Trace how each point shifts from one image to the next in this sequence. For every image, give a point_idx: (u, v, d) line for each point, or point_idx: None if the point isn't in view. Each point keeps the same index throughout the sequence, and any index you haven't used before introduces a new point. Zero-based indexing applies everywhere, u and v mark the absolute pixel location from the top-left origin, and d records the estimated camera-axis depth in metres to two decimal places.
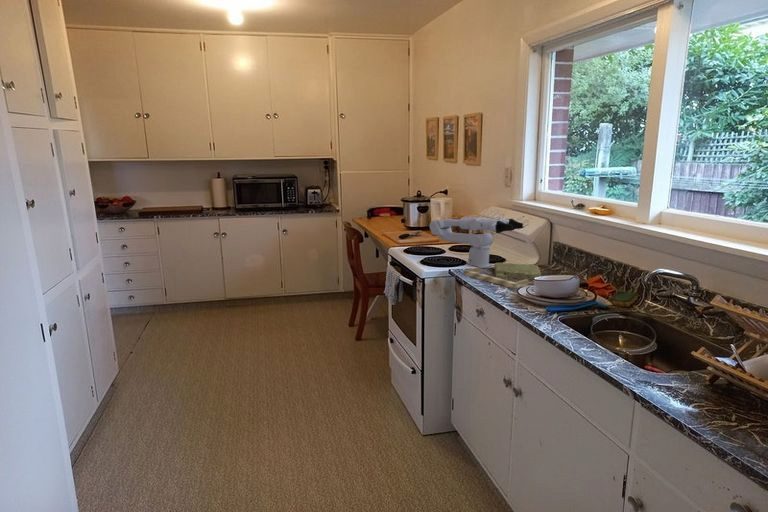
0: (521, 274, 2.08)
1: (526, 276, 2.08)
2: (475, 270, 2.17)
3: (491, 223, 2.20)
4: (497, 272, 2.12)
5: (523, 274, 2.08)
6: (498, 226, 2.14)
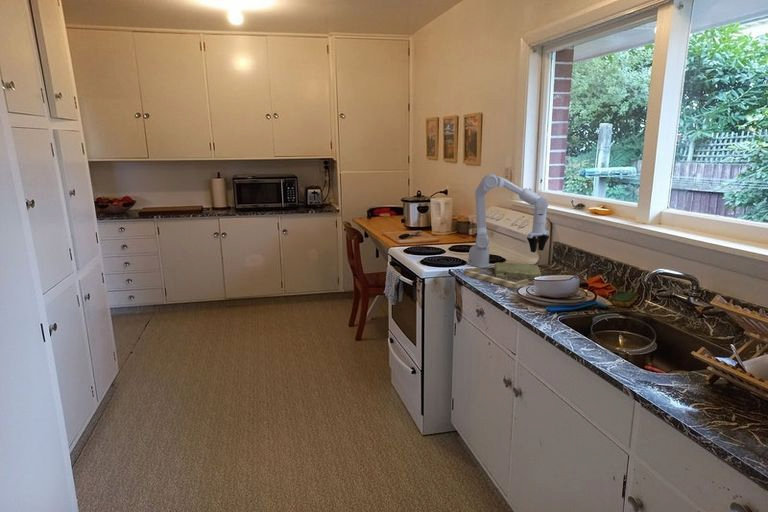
0: (521, 274, 2.08)
1: (526, 276, 2.08)
2: (475, 270, 2.17)
3: (537, 226, 2.19)
4: (497, 272, 2.12)
5: (523, 274, 2.08)
6: (533, 239, 2.20)
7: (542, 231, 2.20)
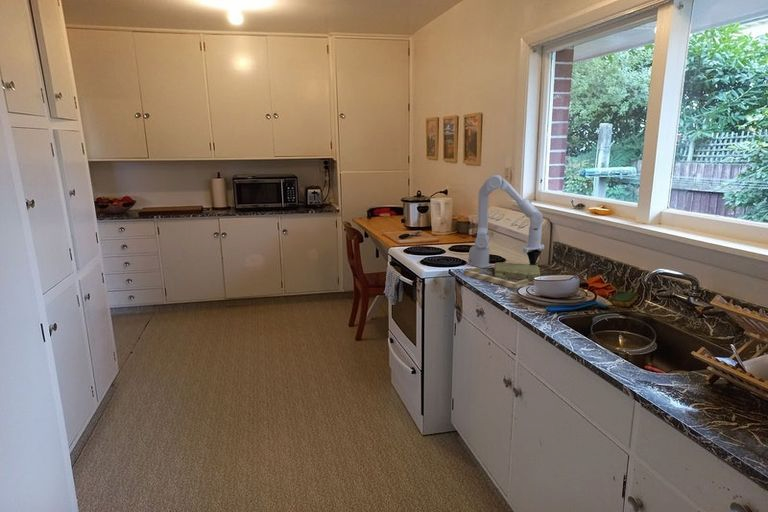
0: (520, 274, 2.07)
1: (525, 276, 2.07)
2: (475, 270, 2.17)
3: (533, 240, 2.19)
4: (496, 272, 2.11)
5: (522, 274, 2.07)
6: None
7: (537, 245, 2.19)
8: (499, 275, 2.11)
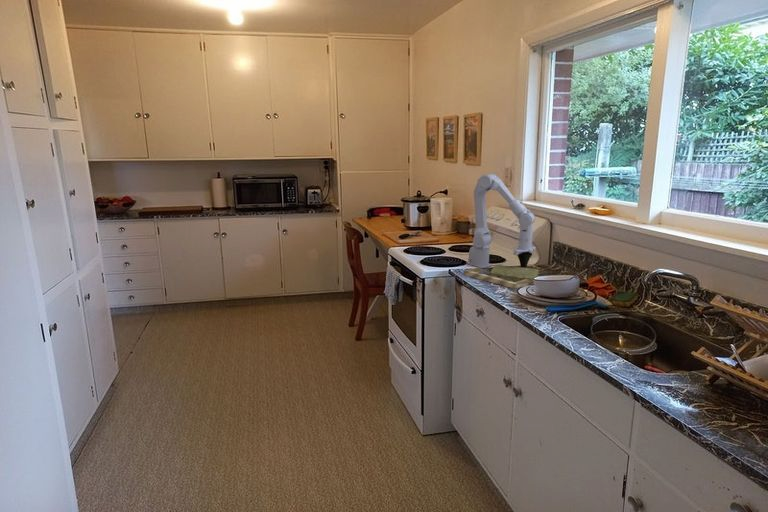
0: (514, 277, 2.03)
1: (519, 280, 2.02)
2: (475, 270, 2.17)
3: (524, 242, 2.15)
4: (490, 274, 2.08)
5: (516, 277, 2.02)
6: None
7: (528, 248, 2.15)
8: None
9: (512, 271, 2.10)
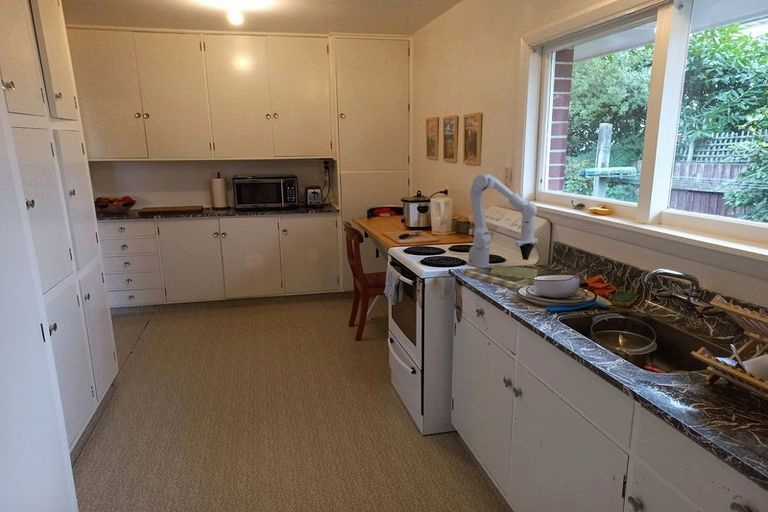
0: (514, 278, 2.03)
1: (519, 280, 2.02)
2: (475, 270, 2.17)
3: (526, 234, 2.14)
4: (490, 274, 2.08)
5: (516, 278, 2.02)
6: None
7: (530, 239, 2.15)
8: None
9: (511, 271, 2.10)
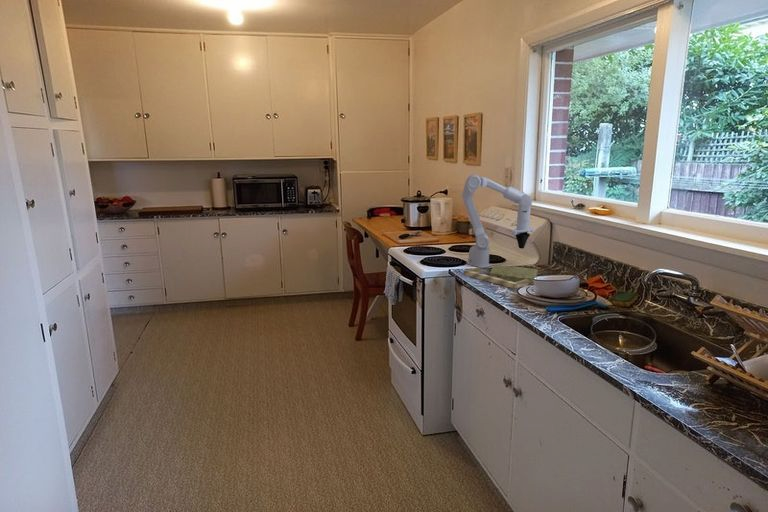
0: (514, 277, 2.03)
1: (519, 280, 2.02)
2: (475, 270, 2.17)
3: (521, 223, 2.21)
4: (490, 274, 2.08)
5: (516, 278, 2.02)
6: None
7: (526, 228, 2.22)
8: None
9: (511, 271, 2.10)
